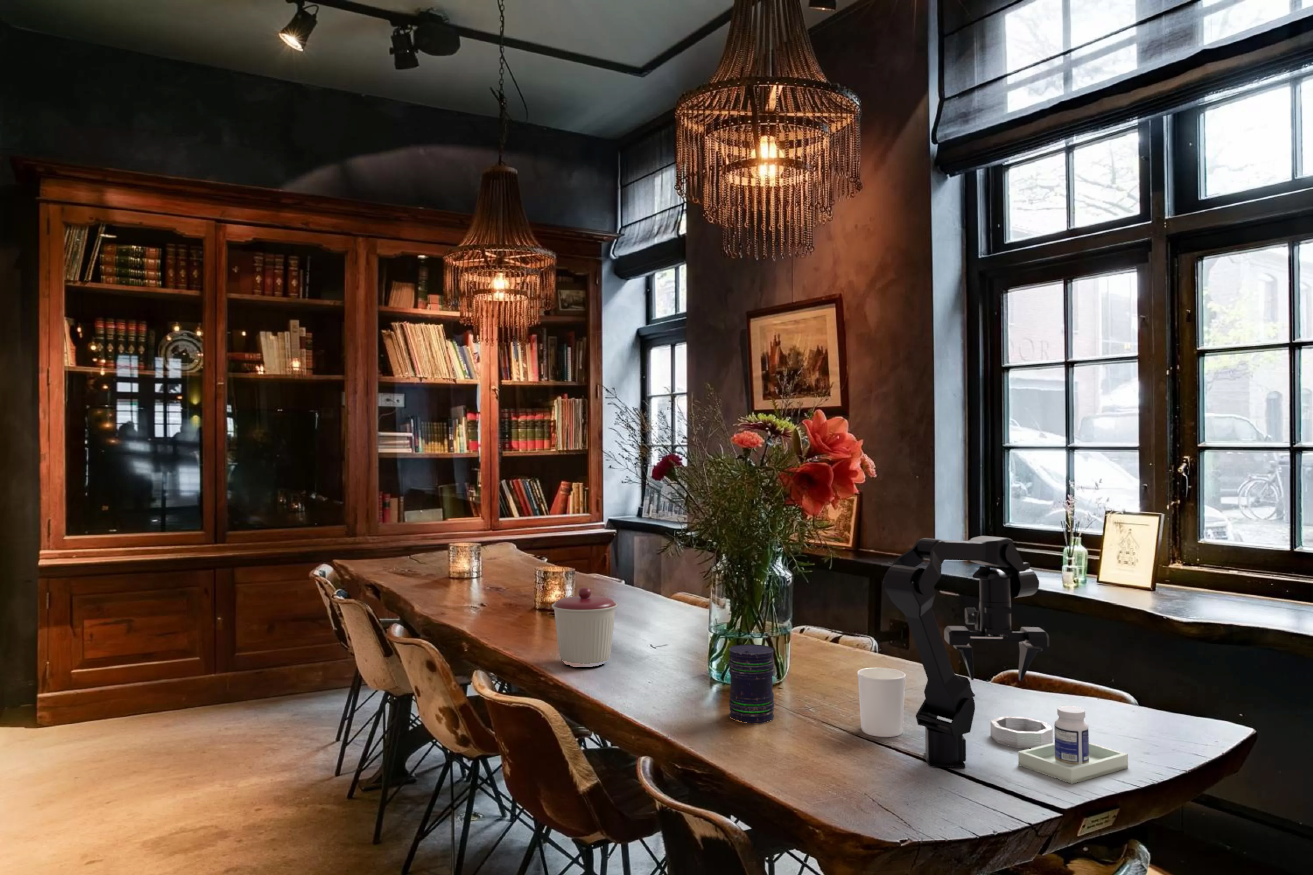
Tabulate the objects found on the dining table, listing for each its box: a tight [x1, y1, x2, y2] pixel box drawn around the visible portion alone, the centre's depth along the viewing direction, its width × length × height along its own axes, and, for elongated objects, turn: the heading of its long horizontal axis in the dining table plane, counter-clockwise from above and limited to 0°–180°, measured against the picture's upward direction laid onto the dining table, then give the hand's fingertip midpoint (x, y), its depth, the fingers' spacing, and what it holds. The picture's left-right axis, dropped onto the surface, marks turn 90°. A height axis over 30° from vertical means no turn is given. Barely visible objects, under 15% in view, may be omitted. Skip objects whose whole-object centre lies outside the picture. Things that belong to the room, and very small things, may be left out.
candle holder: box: [856, 667, 907, 738], centre depth 187 cm, size 10×10×12 cm
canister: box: [551, 586, 619, 664], centre depth 247 cm, size 18×18×21 cm
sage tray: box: [1017, 742, 1129, 785], centre depth 165 cm, size 16×11×2 cm
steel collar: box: [989, 716, 1054, 749], centre depth 181 cm, size 11×11×3 cm
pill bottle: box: [1054, 705, 1090, 767], centre depth 165 cm, size 6×6×10 cm
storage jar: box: [728, 643, 775, 724], centre depth 197 cm, size 10×10×15 cm
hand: (996, 680), depth 177 cm, fingers open, 9 cm apart
